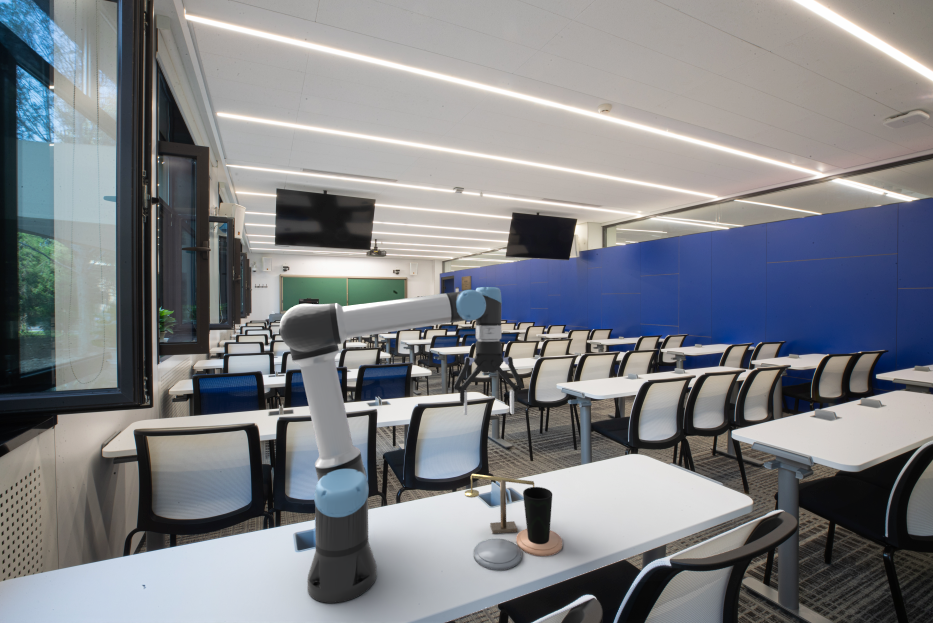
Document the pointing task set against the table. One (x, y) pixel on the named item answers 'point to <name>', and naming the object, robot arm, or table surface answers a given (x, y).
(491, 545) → the dish near
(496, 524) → the balance
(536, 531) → the cup
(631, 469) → the table surface
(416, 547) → the table surface
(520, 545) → the dish far
